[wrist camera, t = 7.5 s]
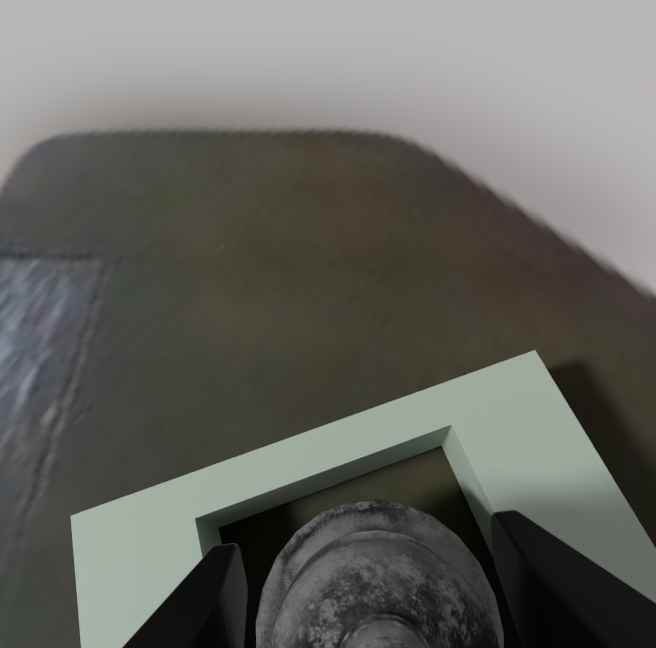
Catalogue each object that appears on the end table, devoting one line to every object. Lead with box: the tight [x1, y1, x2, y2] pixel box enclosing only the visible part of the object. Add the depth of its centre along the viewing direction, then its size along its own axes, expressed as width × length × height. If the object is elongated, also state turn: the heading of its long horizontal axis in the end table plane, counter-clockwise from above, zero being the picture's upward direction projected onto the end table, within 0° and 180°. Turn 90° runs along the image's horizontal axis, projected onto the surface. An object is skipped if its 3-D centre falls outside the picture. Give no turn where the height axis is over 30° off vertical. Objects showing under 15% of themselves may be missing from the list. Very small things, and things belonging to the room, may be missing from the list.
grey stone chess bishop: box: [256, 499, 504, 648], centre depth 10 cm, size 6×6×12 cm
